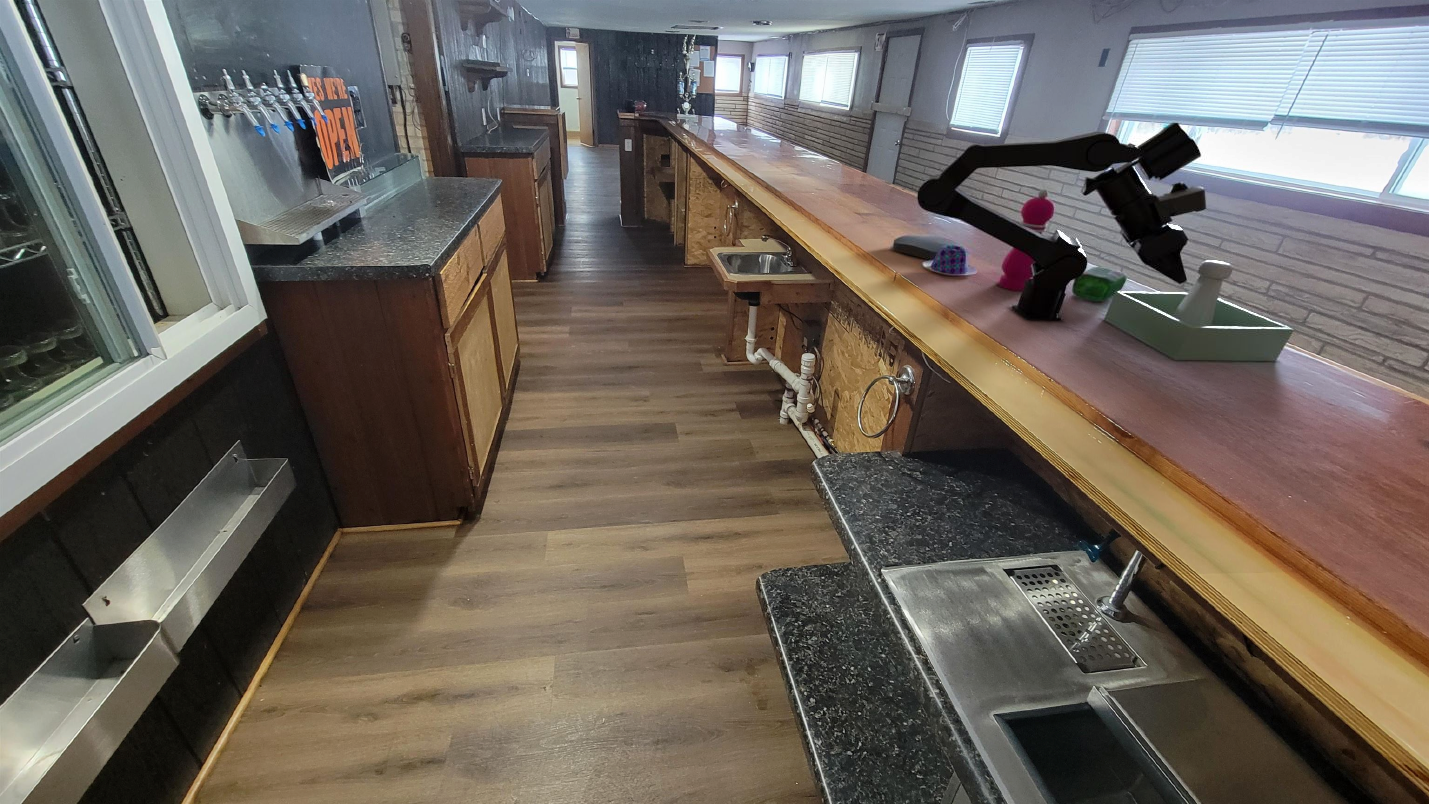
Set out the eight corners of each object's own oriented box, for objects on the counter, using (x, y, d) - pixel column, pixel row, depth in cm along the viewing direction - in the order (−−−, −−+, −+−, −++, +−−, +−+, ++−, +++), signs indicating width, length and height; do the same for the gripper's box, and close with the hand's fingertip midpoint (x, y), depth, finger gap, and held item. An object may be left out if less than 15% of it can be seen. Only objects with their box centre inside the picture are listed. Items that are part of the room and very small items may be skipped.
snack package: (1125, 293, 121) (1135, 269, 119) (1100, 307, 112) (1110, 282, 110) (1089, 285, 126) (1098, 261, 123) (1062, 298, 117) (1071, 273, 114)
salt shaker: (1178, 327, 102) (1212, 256, 96) (1211, 340, 98) (1250, 266, 91) (1156, 330, 100) (1189, 258, 94) (1189, 343, 96) (1226, 268, 89)
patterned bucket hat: (951, 261, 138) (957, 240, 135) (987, 276, 128) (994, 253, 126) (911, 265, 134) (915, 242, 131) (945, 280, 124) (951, 256, 122)
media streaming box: (886, 250, 145) (888, 238, 144) (915, 242, 154) (917, 231, 152) (938, 263, 136) (941, 251, 135) (966, 254, 145) (969, 242, 143)
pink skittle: (1034, 285, 123) (1066, 189, 113) (1030, 294, 118) (1063, 194, 108) (999, 279, 127) (1026, 185, 117) (993, 287, 121) (1022, 189, 111)
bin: (1175, 360, 91) (1191, 327, 88) (1103, 319, 106) (1115, 291, 103) (1275, 361, 92) (1294, 329, 89) (1190, 321, 107) (1204, 292, 105)
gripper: (1200, 173, 82) (1254, 260, 83) (1170, 160, 97) (1217, 235, 98) (1116, 221, 88) (1168, 301, 90) (1100, 203, 103) (1145, 271, 105)
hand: (1176, 275), depth 96 cm, fingers open, 9 cm apart
